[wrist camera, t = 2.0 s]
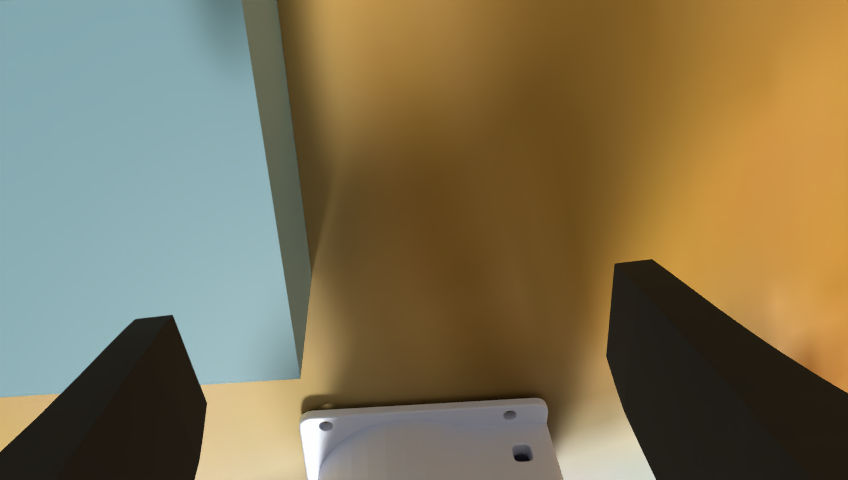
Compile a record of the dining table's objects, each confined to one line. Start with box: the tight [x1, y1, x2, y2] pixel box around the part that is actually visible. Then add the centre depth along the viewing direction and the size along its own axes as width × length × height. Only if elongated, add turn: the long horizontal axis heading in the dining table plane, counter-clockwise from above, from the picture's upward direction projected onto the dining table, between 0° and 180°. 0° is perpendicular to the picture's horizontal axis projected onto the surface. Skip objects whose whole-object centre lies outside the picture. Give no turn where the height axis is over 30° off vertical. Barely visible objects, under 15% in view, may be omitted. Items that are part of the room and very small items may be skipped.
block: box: [0, 0, 312, 397], centre depth 17 cm, size 8×10×5 cm
